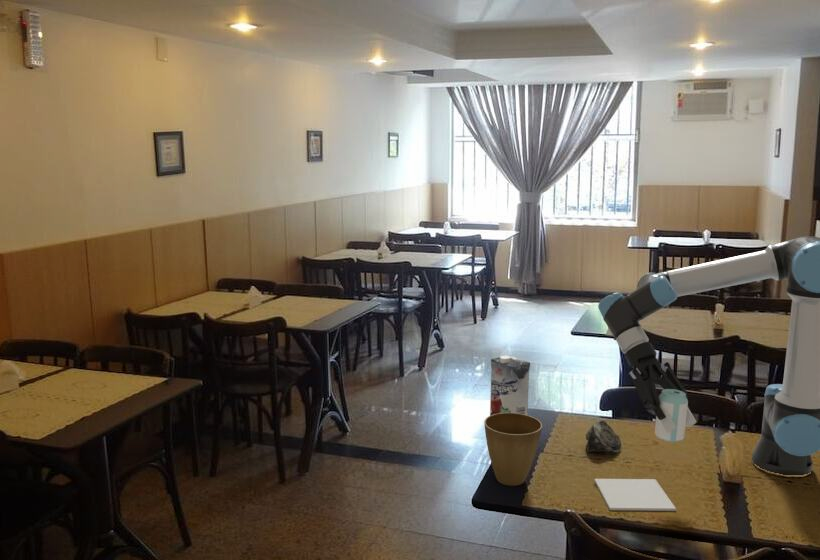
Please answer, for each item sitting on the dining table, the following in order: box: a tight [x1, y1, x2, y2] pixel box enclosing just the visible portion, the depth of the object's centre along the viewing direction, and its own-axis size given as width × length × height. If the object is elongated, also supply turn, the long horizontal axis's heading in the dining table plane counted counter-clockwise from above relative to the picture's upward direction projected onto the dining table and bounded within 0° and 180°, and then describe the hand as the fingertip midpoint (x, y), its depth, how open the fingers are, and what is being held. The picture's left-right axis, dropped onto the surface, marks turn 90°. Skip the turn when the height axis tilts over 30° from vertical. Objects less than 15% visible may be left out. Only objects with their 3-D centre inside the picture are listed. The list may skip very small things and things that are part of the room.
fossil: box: [585, 419, 622, 455], centre depth 220 cm, size 11×9×10 cm
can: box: [654, 389, 689, 443], centre depth 190 cm, size 7×7×12 cm
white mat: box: [594, 478, 677, 512], centre depth 192 cm, size 16×16×1 cm
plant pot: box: [483, 413, 543, 487], centre depth 199 cm, size 15×15×16 cm
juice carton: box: [489, 355, 531, 416], centre depth 221 cm, size 9×10×27 cm
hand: (682, 427), depth 188 cm, fingers closed on can, 7 cm apart
